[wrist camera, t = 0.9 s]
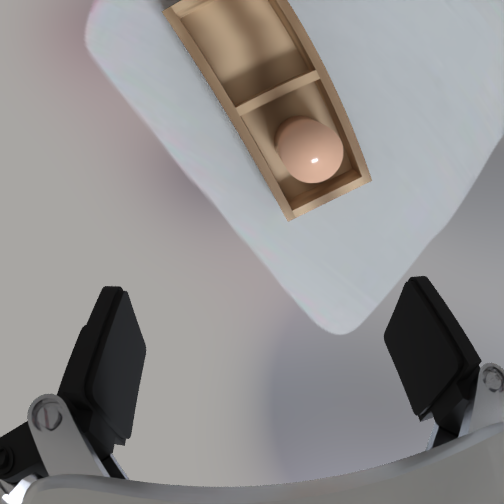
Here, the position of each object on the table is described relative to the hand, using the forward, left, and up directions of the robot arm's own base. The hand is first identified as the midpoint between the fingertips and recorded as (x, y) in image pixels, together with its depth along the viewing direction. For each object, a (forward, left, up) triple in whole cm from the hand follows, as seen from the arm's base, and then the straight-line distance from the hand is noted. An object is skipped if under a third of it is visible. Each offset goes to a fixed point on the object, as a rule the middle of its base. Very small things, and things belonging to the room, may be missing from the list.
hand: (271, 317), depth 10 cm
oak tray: (-6, -3, -27) cm, 28 cm away
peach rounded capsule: (-6, +3, -26) cm, 27 cm away
